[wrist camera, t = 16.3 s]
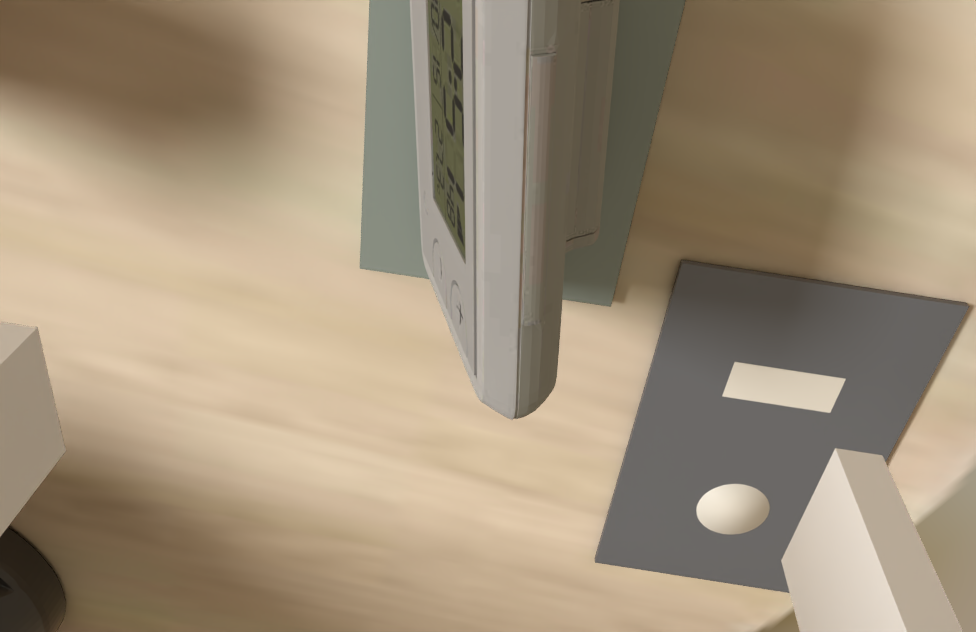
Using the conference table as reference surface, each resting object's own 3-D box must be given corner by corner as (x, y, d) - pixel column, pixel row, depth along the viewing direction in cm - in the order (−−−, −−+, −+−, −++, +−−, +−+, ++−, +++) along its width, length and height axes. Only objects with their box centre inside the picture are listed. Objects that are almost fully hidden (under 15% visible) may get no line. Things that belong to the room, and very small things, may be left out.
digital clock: (420, -202, 26) (336, -193, 17) (697, -133, 26) (758, -88, 17) (360, 241, 35) (285, 400, 26) (567, 288, 35) (562, 461, 26)
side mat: (610, 300, 36) (610, 306, 35) (362, 262, 36) (359, 268, 35) (726, -177, 26) (728, -177, 25) (381, -227, 26) (377, -227, 25)
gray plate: (811, 591, 45) (813, 596, 44) (594, 558, 45) (594, 562, 44) (966, 302, 34) (969, 307, 34) (681, 259, 34) (682, 263, 34)
